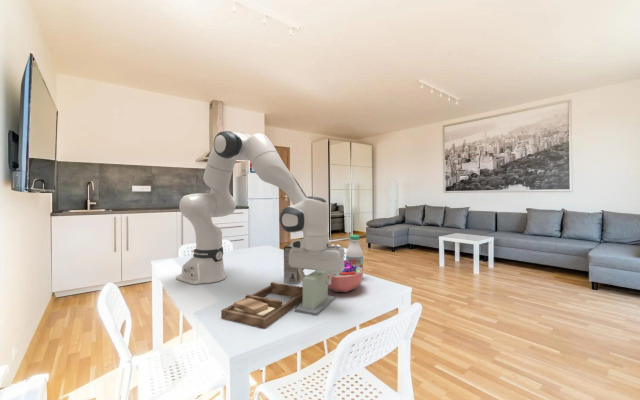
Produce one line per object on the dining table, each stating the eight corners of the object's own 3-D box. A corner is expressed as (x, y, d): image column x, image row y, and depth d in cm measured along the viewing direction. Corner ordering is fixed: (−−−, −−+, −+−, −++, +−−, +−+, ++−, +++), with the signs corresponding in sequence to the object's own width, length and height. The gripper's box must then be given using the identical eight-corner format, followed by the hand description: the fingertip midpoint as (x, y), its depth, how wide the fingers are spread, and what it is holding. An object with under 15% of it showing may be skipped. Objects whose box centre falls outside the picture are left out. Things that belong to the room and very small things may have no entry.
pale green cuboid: (302, 307, 95) (302, 278, 95) (317, 296, 106) (317, 269, 106) (313, 309, 93) (313, 279, 93) (327, 297, 104) (327, 270, 104)
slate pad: (294, 311, 94) (294, 309, 94) (315, 295, 108) (315, 293, 108) (316, 315, 90) (316, 313, 90) (334, 298, 105) (334, 296, 105)
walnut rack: (221, 318, 88) (221, 305, 88) (269, 291, 112) (269, 281, 112) (264, 328, 82) (264, 314, 82) (306, 298, 106) (306, 287, 105)
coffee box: (289, 277, 132) (289, 243, 132) (303, 278, 131) (303, 243, 131) (283, 283, 123) (283, 246, 123) (297, 284, 122) (297, 247, 122)
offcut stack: (229, 317, 90) (229, 303, 90) (246, 309, 96) (246, 296, 96) (261, 326, 84) (261, 311, 84) (276, 317, 90) (276, 303, 90)
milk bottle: (344, 276, 134) (344, 234, 133) (360, 276, 134) (361, 234, 134) (347, 281, 126) (347, 236, 125) (364, 281, 127) (364, 236, 126)
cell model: (312, 293, 111) (312, 264, 110) (333, 280, 128) (334, 255, 128) (353, 301, 103) (353, 270, 102) (370, 285, 120) (370, 259, 120)
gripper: (347, 243, 98) (347, 283, 98) (295, 239, 106) (295, 276, 106) (340, 247, 92) (340, 289, 92) (286, 242, 100) (286, 281, 101)
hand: (315, 282), depth 99 cm, fingers open, 8 cm apart
